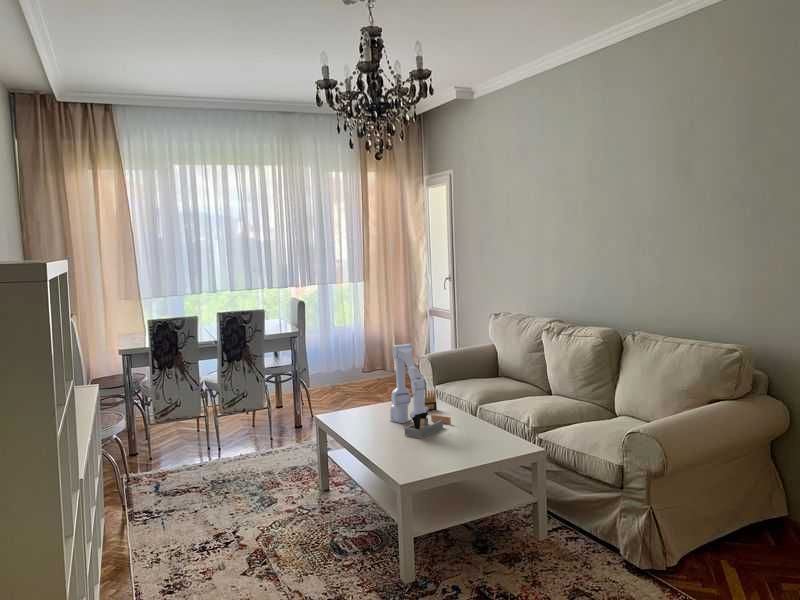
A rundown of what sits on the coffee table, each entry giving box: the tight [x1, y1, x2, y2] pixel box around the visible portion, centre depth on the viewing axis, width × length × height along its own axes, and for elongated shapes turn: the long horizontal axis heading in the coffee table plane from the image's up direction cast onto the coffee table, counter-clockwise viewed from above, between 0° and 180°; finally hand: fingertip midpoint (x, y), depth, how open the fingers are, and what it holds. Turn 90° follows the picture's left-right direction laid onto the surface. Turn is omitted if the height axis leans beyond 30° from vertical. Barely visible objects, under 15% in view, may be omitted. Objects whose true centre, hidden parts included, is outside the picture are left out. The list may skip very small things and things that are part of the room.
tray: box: [404, 417, 444, 439], centre depth 322 cm, size 10×21×4 cm, turn 145°
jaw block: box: [414, 418, 425, 430], centre depth 319 cm, size 4×4×6 cm
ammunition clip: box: [424, 389, 438, 412], centre depth 360 cm, size 11×2×12 cm, turn 106°
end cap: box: [430, 414, 452, 425], centre depth 336 cm, size 12×1×4 cm, turn 55°
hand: (419, 427), depth 319 cm, fingers closed on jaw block, 4 cm apart
